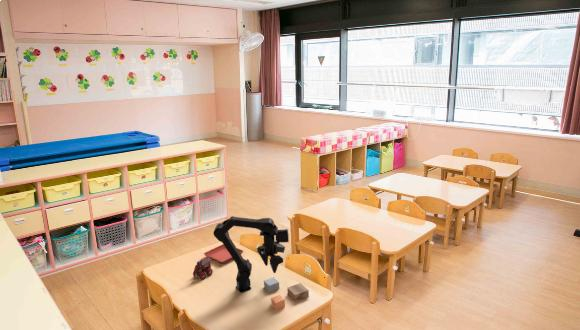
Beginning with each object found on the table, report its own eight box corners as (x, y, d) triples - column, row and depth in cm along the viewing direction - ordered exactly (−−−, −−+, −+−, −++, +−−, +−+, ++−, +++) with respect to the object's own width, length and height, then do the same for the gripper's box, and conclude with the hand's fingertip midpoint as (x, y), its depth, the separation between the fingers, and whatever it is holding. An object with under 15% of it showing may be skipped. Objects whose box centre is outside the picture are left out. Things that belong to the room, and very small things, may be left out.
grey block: (269, 292, 217) (269, 285, 216) (264, 287, 222) (263, 280, 221) (279, 288, 220) (279, 282, 219) (273, 283, 225) (273, 277, 224)
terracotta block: (276, 310, 202) (275, 302, 201) (271, 304, 206) (271, 298, 205) (285, 306, 204) (284, 299, 203) (280, 301, 208) (279, 294, 207)
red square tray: (225, 247, 269) (225, 242, 268) (244, 255, 258) (244, 250, 257) (203, 258, 256) (203, 253, 255) (222, 267, 245) (221, 262, 244)
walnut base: (295, 301, 208) (295, 295, 207) (287, 294, 215) (287, 287, 214) (308, 297, 212) (308, 290, 210) (300, 289, 218) (300, 283, 217)
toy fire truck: (190, 278, 232) (188, 262, 230) (207, 269, 242) (205, 253, 239) (198, 282, 228) (196, 265, 226) (215, 272, 238) (213, 256, 235)
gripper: (291, 245, 210) (292, 272, 214) (274, 232, 225) (275, 257, 229) (272, 250, 204) (273, 278, 209) (255, 237, 220) (257, 263, 224)
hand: (270, 269), depth 218 cm, fingers open, 9 cm apart
